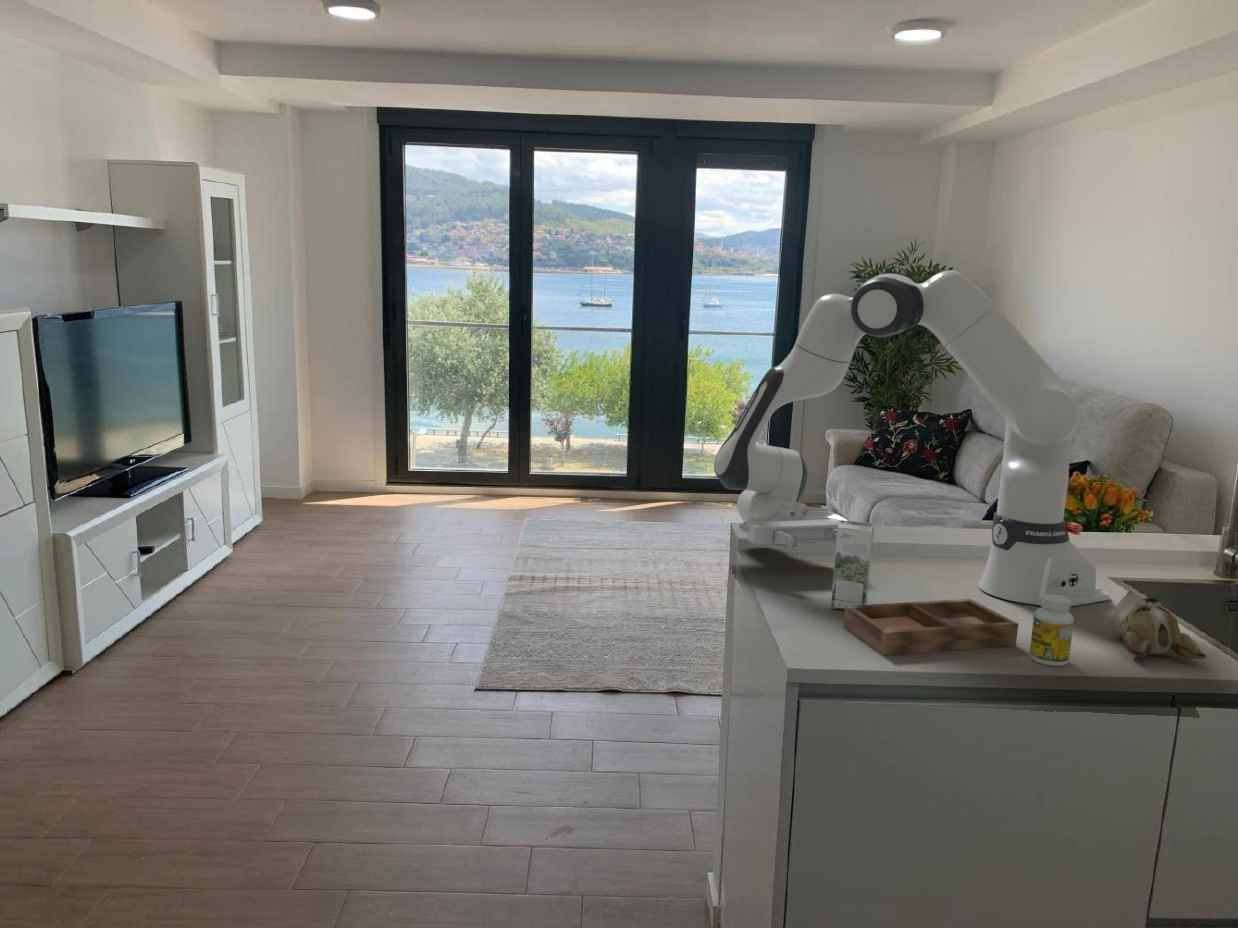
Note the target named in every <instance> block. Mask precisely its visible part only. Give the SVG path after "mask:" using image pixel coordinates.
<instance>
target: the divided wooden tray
mask: <svg viewBox="0 0 1238 928" xmlns="http://www.w3.org/2000/svg"><path fill="white" fill-rule="evenodd" d="M843 618H844V619H843V628H844V629H845V630H846V631H848V632H850V633H851V634H853V635H854V636H855V637H856V638H858V639H860V640H861V641H862V642H864V643H865V644H867V645H868V646H870V647H871V648H872V649H874V650H875V651H877V652H878V653H879V654H881V655H882V656H893V655H895V656H896V655H904V654H905V655H906V654H907V655H909V654H910V655H911V654H920V653H921V654H923V653H935V652H936V653H937V652H946V651H948V652H949V651H958V650H961V651H963V650H973V649H974V650H975V649H986V648H989V649H990V648H999V647H1002V648H1003V647H1011V646H1012V647H1013V646H1016V645H1017V640H1018V639H1017V638H1018V633H1019V632H1018V629H1019V623H1017V622H1016V621H1014V620H1012V619H1010V618H1008V617H1006V616H1004V615H1002V614H1000V613H998V612H996V611H994V610H992V609H990V608H988V607H986V606H984V605H983V604H981V603H979V602H977V601H975V600H973V599H971V598H961V599H945V600H944V599H943V600H929V601H911V602H895V603H894V602H892V603H891V602H890V603H875V604H867V605H856V606H845V610H844V617H843Z"/></svg>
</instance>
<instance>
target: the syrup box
mask: <svg viewBox="0 0 1238 928" xmlns="http://www.w3.org/2000/svg"><path fill="white" fill-rule="evenodd" d="M847 520H848V519H847ZM847 520H841V521H840V523H839V525H838V529H837V540H836V544H835V552H834V554H835V555H834V563H833V564H834V565H833V566H834V567H833V577H832V591H831V599H830V609H834V610H841V611H845V606H856V605H868V598H869V597H868V595H869V586H870V585H869V582H870V571H871V565H872V563H871V562H872V552H873V547H874V535H875V523H872V522H864V521H855V520H849V521H847Z"/></svg>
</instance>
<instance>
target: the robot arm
mask: <svg viewBox="0 0 1238 928" xmlns="http://www.w3.org/2000/svg"><path fill="white" fill-rule="evenodd" d="M917 325H919V326H923V327H925V328H926V329H928V330H929V331H930V332H931V333H932V334H933V335H934V336H935V337H936V338H937V339H938V341H940V343H941V344H942V346H944V348H945V349H946V350H947V352H949V354H950V355H951V356H952V357H953V358H954V359H955V360H956V362H957V363H958V364H959V365H960V366H961V368H962V369H963V370H964V371H965V372H966V373H967V375H968V376H969V377H970V378H971V379H972V381H973V382H974V383H975V384H976V386H977V387H978V388H979V389H980V391H982V393H983V394H984V396H985V397H986V399H988V400H989V402H990V404H992V405H993V407H994V408H995V409H996V410H997V411H998V413H999V415H1001V417H1002V418H1003V419H1004V420H1005V421H1006V422H1005V430H1004V431H1005V432H1004V443H1003V452H1002V465H1001V474H1000V481H999V490H998V491H999V492H998V499H997V507H996V511H995V512H994V513H993V521H992V527H991V539H992V542H991V547H990V550H989V554H988V558H987V561H986V565H985V568H984V571H983V574H982V575H981V576H982V577H981V578H980V581H979V583H978V588H979V589H980V590H981V591H983V592H985V593H987V594H988V595H991V596H994V597H996V598H1000V599H1004V600H1007V601H1011V602H1016V603H1020V604H1021V603H1023V604H1029V605H1036V606H1039V607H1042V606H1041V604H1040V601H1041V596H1042V595H1045V594H1054V595H1060V596H1064V597H1066V598H1068V599H1070V600H1071V604H1070V607H1075V606H1081V605H1087V604H1093V603H1098V602H1104V601H1105V602H1106V601H1108V600H1110V594H1109V593H1108V592H1107V591H1106V590H1105V589H1103V588H1101V587H1099V586H1097V570H1096V566H1095V563H1094V562H1093V561H1092V560H1091V559H1090V558H1089V557H1088V556H1087V555H1085V554H1084V553H1083V552H1082V551H1081V550H1080V549H1079V548H1078V547H1076V546H1075V544H1073V543H1072V541H1070V535H1069V533H1070V534H1073V535H1075V536H1079V535H1081V533H1082V532H1083V526H1082V524H1080V523H1076V522H1074V521H1071V522H1070V521H1069V522H1067V521H1066V520H1065V519H1064V516H1065V509H1066V500H1067V494H1068V486H1069V485H1068V484H1069V477H1070V476H1069V475H1070V471H1069V470H1070V456H1071V442H1072V434H1073V433H1074V432H1075V430H1076V429H1077V427H1078V425H1079V422H1080V417H1081V407H1080V403H1079V401H1078V399H1077V397H1076V395H1075V394H1074V393H1073V392H1072V390H1071V389H1070V388H1069V387H1068V385H1066V384H1065V382H1064V381H1063V380H1062V379H1061V378H1060V377H1059V376H1058V374H1056V372H1055V371H1054V370H1053V369H1052V368H1051V366H1049V364H1048V363H1047V362H1046V361H1045V360H1044V359H1043V357H1042V356H1041V354H1039V353H1038V352H1037V351H1036V349H1035V348H1034V347H1033V346H1032V344H1030V343H1029V342H1028V340H1027V339H1026V338H1025V336H1023V334H1021V332H1020V331H1019V330H1018V329H1017V327H1016V326H1014V324H1013V323H1012V321H1010V319H1009V318H1007V316H1006V315H1005V314H1004V313H1003V311H1002V310H1001V309H1000V308H999V307H998V306H997V305H996V304H995V302H994V301H993V300H992V299H991V298H990V297H989V296H988V295H987V294H986V293H985V292H984V291H983V290H982V289H981V288H980V287H979V286H977V284H975V283H974V282H973V281H972V280H970V279H969V278H968V277H966V276H965V275H963V273H961V272H959V271H957V270H954V269H952V270H951V269H949V270H942V271H941V272H938V273H936V274H934V275H932V276H931V277H929V278H928V279H927V280H925V281H924V282H921V283H919V282H918V281H917V280H916V279H915V278H913V277H911V276H910V275H907V274H904V273H899V272H897V273H895V272H893V273H882V274H878V275H877V276H876V275H875V276H874V277H872V278H869V279H868V280H866V281H865V282H863V283H862V284H861V285H860V286H859V287H858V288H857V289H856V291H855V292H854V293H853V296H847V295H844V294H841V293H840V294H839V293H829V294H824V295H823V296H822V295H821V297H819V298H818V299H816V301H815V303H814V304H813V305H812V307H811V309H810V311H809V313H808V314H807V316H806V318H805V320H804V322H803V324H802V327H801V329H800V330H799V332H798V336H797V337H796V340H795V343H794V346H793V348H792V349H791V350H790V352H789V353H788V355H787V356H786V357H785V358H784V360H782V362H781V363H779V365H776V366H775V367H771V368H770V369H769V370H767V372H766V373H765V374H764V375H763V377H762V379H761V380H760V382H759V383H758V385H757V387H756V389H755V390H754V392H753V393H752V395H751V396H750V399H749V401H748V403H747V404H746V406H745V408H744V410H743V412H742V413H741V416H740V417H739V419H738V420H737V423H736V425H735V426H734V428H733V430H732V431H731V433H730V434H729V436H728V437H727V439H725V441H724V443H723V444H722V445H721V446H720V448H719V449H718V451H717V453H716V456H715V460H714V466H713V468H714V469H713V470H714V474H715V476H716V477H717V479H718V481H719V482H720V483H721V484H722V485H723V486H724V488H726V489H727V490H730V491H731V490H732V491H742V492H741V493H740V494H739V497H738V499H737V504H736V507H737V511H738V515H739V516H740V518H741V520H742V521H743V522H742V523H739V524H738V529H739V530H741V531H743V532H744V533H745V537H746V538H747V539H748V540H749V541H750V542H751V543H752V544H754V545H757V546H772V545H773V546H776V545H777V546H780V547H788V548H790V547H798V546H799V545H801V544H824V543H827V544H828V543H832V544H834V545H836V540H837V529H838V525H839V523H840V521H841V520H847V521H850V520H849V519H847V518H845V517H844V516H842V515H840V514H837V513H835V512H832V511H829V507H827V506H825V505H819V504H811V503H810V504H808V503H801V502H799V501H800V499H802V497H803V494H804V492H805V490H806V486H807V484H808V483H807V482H808V474H809V473H808V469H807V466H806V465H807V464H806V462H805V460H804V458H803V456H802V454H801V453H799V452H798V451H797V450H795V449H790V448H784V447H780V446H773V445H767V444H763V443H757V442H758V440H759V438H760V437H761V434H762V433H763V431H764V429H765V428H766V426H767V424H768V422H769V421H770V419H771V418H772V416H773V414H774V413H775V411H777V410H779V408H781V407H783V406H785V405H786V404H789V403H793V402H796V401H797V402H798V401H802V400H807V399H814V398H819V397H822V396H825V395H826V394H829V393H831V392H832V391H834V390H835V389H837V388H838V386H840V384H841V383H842V381H843V380H844V378H845V376H846V374H847V372H848V369H849V367H850V364H851V361H852V360H853V356H854V353H855V350H857V349H856V348H857V347H858V345H859V343H860V340H861V339H862V338H863V337H864V336H865V335H868V336H872V337H876V338H886V337H890V336H894V335H897V334H899V333H902V332H904V331H906V330H908V329H910V328H913V327H915V326H917Z"/></svg>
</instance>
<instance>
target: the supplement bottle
mask: <svg viewBox="0 0 1238 928" xmlns="http://www.w3.org/2000/svg"><path fill="white" fill-rule="evenodd" d="M1040 604H1041V606H1040V607H1039V608H1037V609H1036V610H1035V611H1034V613H1033V618H1032V619H1033V621H1032V627H1031V628H1032V629H1031V638H1030V648H1029V657H1030V658H1031V659H1032V660H1033V661H1034V662H1036V663H1038V664H1042V665H1046V666H1050V667H1064V666H1067V664H1069V661H1070V653H1071V645H1072V639H1073V630H1074V623H1075V622H1074V620H1075V618H1074V616H1073V614H1072V613H1071V612H1069V611H1070V609H1071V606H1070V604H1071V600H1070V599H1068V598H1066V597H1064V596H1060V595H1054V594H1045V595H1042V596H1041V601H1040Z"/></svg>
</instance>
